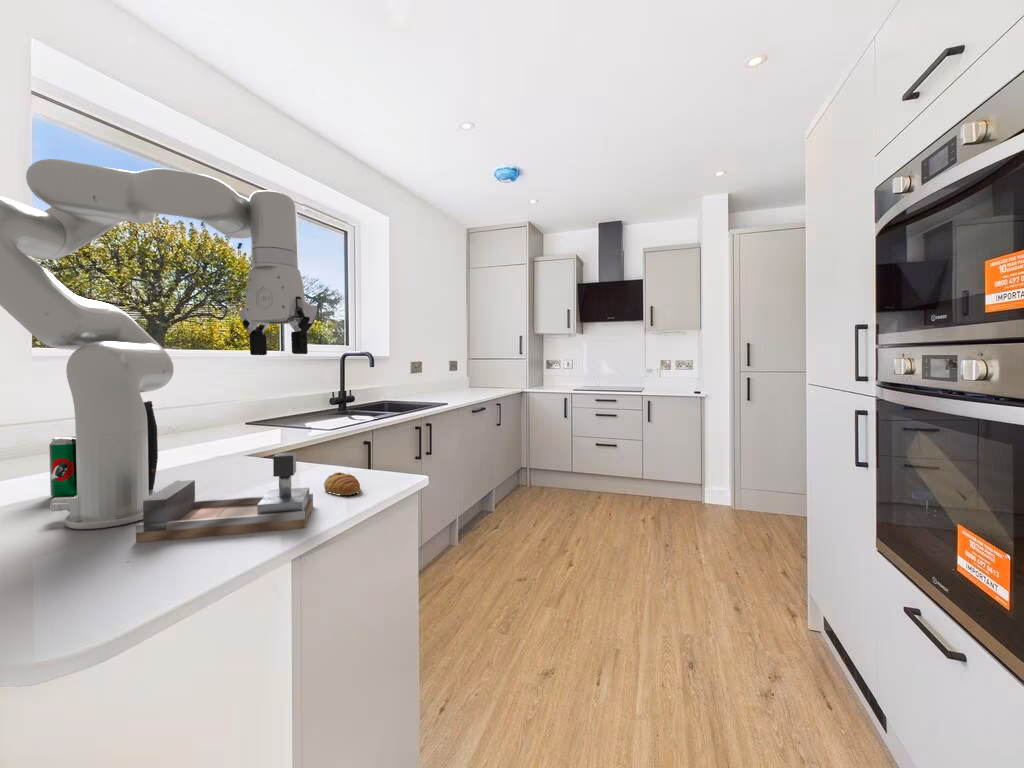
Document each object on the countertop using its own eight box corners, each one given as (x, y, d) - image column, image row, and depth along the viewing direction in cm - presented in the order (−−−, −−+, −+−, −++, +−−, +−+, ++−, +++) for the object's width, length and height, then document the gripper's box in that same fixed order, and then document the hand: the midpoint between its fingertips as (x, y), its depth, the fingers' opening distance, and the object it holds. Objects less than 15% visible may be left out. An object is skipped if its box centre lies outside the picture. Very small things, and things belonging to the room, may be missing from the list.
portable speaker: (167, 488, 98) (166, 400, 97) (123, 500, 88) (122, 404, 88) (135, 485, 99) (134, 399, 98) (88, 497, 90) (87, 402, 89)
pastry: (368, 494, 97) (368, 477, 97) (338, 500, 92) (338, 482, 92) (349, 485, 104) (349, 469, 103) (320, 491, 99) (320, 474, 99)
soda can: (88, 494, 92) (87, 437, 92) (54, 500, 88) (53, 440, 87) (81, 490, 95) (79, 435, 94) (47, 496, 90) (46, 438, 90)
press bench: (136, 542, 69) (135, 501, 68) (169, 516, 80) (168, 481, 80) (304, 527, 76) (304, 490, 76) (313, 506, 87) (313, 474, 87)
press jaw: (257, 518, 75) (257, 460, 74) (269, 502, 84) (269, 450, 83) (302, 515, 77) (302, 458, 77) (309, 499, 86) (309, 448, 85)
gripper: (221, 262, 81) (225, 355, 82) (297, 253, 76) (301, 353, 76) (256, 270, 88) (259, 355, 89) (327, 262, 83) (331, 353, 84)
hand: (279, 354), depth 83 cm, fingers open, 9 cm apart
